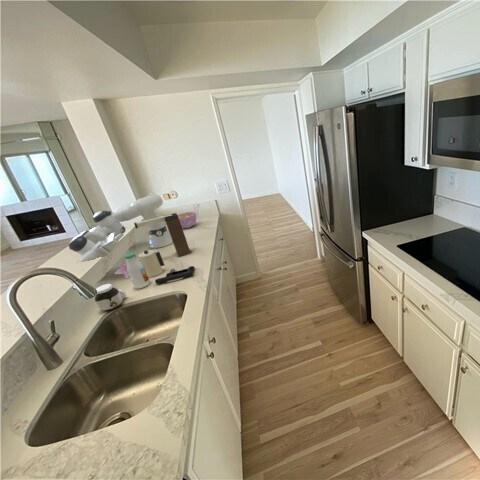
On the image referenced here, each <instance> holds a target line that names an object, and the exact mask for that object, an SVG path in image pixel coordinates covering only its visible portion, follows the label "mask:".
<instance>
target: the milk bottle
mask: <svg viewBox="0 0 480 480" xmlns="http://www.w3.org/2000/svg"><path fill="white" fill-rule="evenodd" d="M124 258H125V261H126V260H127V271H128V273H129V278H130V280H131V282H132V285H133V287H134V288H135V289H136V290H137V289H138V290H139V289H143V288H145V287H147V286H149V285H150V284H151V281H150V277H148V276H147V274H146V271H145V269H144V267H143V265H142V264H141V262H139V261H138V260H137V259H138V258H137V257H136V254H135V252H129V253H126V254H125V255H124Z"/></svg>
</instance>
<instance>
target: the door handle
mask: <svg viewBox="0 0 480 480" xmlns="http://www.w3.org/2000/svg"><path fill="white" fill-rule="evenodd" d="M194 271H195V266H193V265H191V266H188V267H187V268H185V269H180V270H175V268H171V269H170V270H169V272H168V273H166V274H165V276H163V277H160V278H157V279H156V278H155V279H154V282H155V284H156V285H160V284H164V283H168V284H169V283H173V282H175V281H179V280H183V279H185V278H188V277H192V276H194Z"/></svg>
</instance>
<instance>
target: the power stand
mask: <svg viewBox="0 0 480 480" xmlns="http://www.w3.org/2000/svg"><path fill="white" fill-rule="evenodd" d="M171 214H172V215H171ZM166 215H167V214H164V216H166ZM168 215H171V216H167V217H164V218H165V221H164V223H165V226H166V228H167V231H169V233H170V236H171V239H172V241H173V243H172V244H173V247H174V249H175V252H176V255H177V257H178V258H181V257H183V256H187V255H190V254H191V250H190V247H189V244H188V240H187V238H186V234H185V232H184V228H182V226H181V223H180V220H179V218H178V215H179V214H177V212H174V213H169V214H168Z"/></svg>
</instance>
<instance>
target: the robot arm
mask: <svg viewBox="0 0 480 480" xmlns="http://www.w3.org/2000/svg"><path fill="white" fill-rule="evenodd" d="M163 202H164V201H163V198H162V197H161V196H160V195H159V194H149V195H147V196H144V197H141V198H138V199H136V200H135V201H132V202H130V203H127V204H125V205H123V206H121V207H118V208H117V209H116V210H114V211H113V212H112V211H111V210H100V211H97V212H96V213H95V214H94V215H93V216H92V220H93V222H94V223H96V224H97V226H95V227H92V228H91V229H90V230H85V231H83V232H81V233H80V234H79V235H77V236H75V237H73V238H72V239H71V240H70V241H69V243H68V248H69V250H71V251H73V252H76V253H77V254H79V255H81V257H80V258H79V259H78V260H76V263H77V262H85V261H90V260H94V259H96V258H99V257H105V256H106V257H107V256H109V255H110V254H111V253H112V252H113V251H114V249H115V248H116V246H118V245H119V241H120V239H122V237H123V236H124V234H125V232H126V231H127V229H126V227H125V226H124V225H123V224H122V222H123V223H124V222H127V221H128V222H129V221H131V220H133V219H136V218H139V217H142V219H143V221H146V220H150V219H154V218H158V217H162V215H160V214H158V213H157V212H156V210H157V209H159V208H160V207H161V206H162V205H163ZM146 227H147V228H148V234H149V235H150V236H149V237H148V238H149V239H148V240H149V244H150V245H149V249H153V248H154V249H159V248H163V247H168V246H169V245H172V244H173V241H172V239H171V236H170V233H169V230H168V227H167V225H166V224H165V221H163V222H159V223H155V224H151V225H147V226H146ZM123 233H124V234H123ZM108 236H109V237H108ZM106 257H105V258H106Z"/></svg>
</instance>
